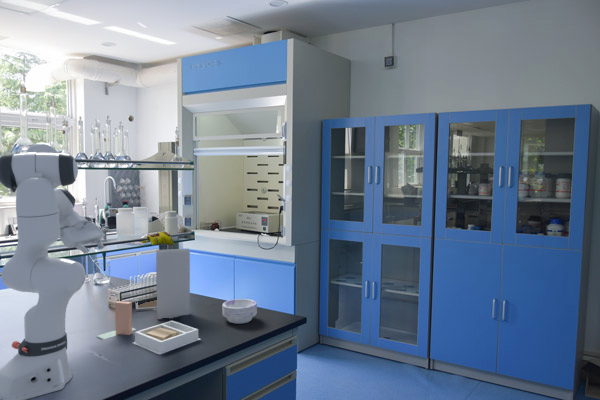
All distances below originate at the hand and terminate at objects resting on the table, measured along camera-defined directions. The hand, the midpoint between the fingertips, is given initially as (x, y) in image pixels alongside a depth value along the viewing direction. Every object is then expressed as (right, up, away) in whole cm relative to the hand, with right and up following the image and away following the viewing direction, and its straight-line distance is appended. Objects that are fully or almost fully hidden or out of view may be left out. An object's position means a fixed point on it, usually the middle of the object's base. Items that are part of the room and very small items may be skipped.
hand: (94, 250), depth 184 cm
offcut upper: (+30, -32, -12) cm, 45 cm away
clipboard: (+11, -31, +43) cm, 55 cm away
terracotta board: (+13, -33, -2) cm, 36 cm away
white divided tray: (+32, -35, -9) cm, 48 cm away
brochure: (+25, -32, +22) cm, 47 cm away
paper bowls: (+56, -33, +18) cm, 68 cm away
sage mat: (+12, -34, -3) cm, 36 cm away
